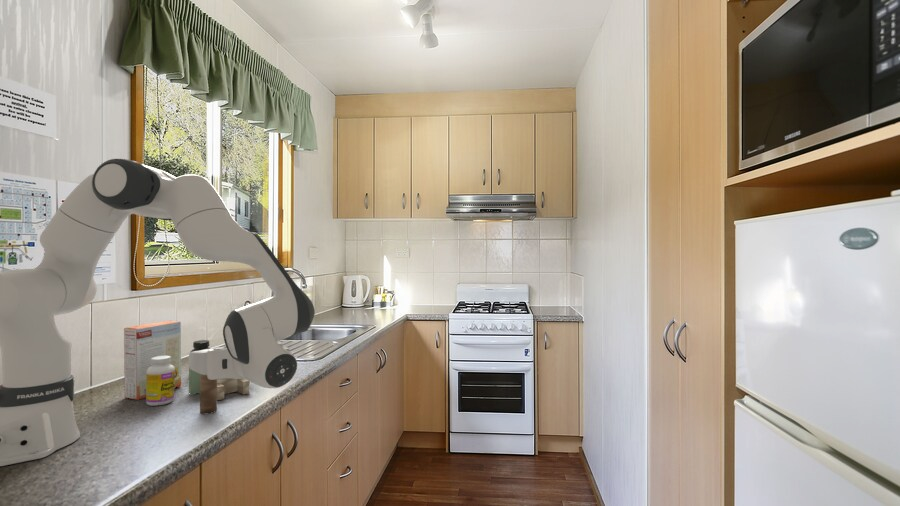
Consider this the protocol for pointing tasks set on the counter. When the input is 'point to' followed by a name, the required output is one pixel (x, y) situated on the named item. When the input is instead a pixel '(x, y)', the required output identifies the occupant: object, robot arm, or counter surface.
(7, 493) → the counter surface
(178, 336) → the cracker box
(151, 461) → the counter surface
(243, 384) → the block
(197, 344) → the supplement bottle
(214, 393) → the dowel
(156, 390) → the supplement bottle
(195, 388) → the wall
